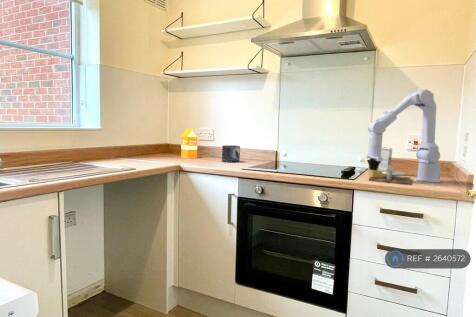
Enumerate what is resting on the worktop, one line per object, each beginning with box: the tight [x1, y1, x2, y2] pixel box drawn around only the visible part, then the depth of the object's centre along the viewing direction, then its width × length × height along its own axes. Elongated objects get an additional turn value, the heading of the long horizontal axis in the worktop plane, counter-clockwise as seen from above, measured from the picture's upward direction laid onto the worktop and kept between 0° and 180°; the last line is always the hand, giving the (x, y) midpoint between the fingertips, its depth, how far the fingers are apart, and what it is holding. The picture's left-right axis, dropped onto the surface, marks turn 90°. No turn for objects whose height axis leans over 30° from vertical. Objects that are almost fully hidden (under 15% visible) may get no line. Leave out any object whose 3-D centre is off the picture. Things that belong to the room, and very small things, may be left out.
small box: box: [221, 144, 241, 163], centre depth 209 cm, size 11×6×10 cm, turn 131°
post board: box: [368, 171, 412, 186], centre depth 156 cm, size 17×20×5 cm
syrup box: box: [377, 146, 393, 170], centre depth 177 cm, size 6×6×14 cm
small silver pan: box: [369, 168, 406, 178], centre depth 155 cm, size 16×12×4 cm
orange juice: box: [180, 128, 198, 159], centre depth 225 cm, size 8×9×20 cm
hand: (372, 174), depth 156 cm, fingers closed, pressing on small silver pan
